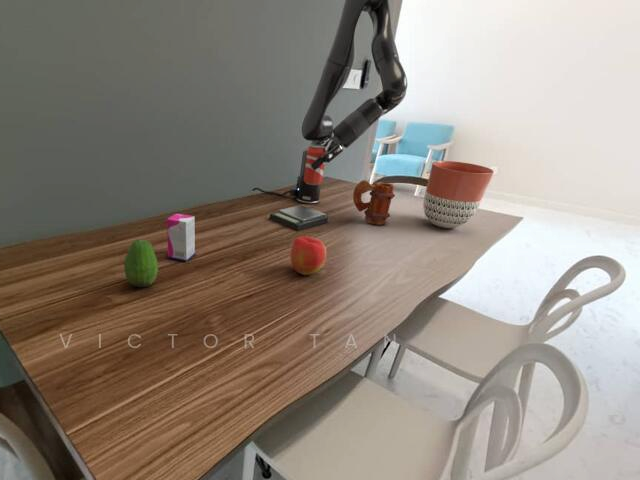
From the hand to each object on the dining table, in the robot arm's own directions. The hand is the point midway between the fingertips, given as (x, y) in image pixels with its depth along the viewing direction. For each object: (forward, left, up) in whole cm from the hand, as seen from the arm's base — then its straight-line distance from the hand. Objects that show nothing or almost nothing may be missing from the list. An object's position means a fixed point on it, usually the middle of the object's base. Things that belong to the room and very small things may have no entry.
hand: (310, 165), depth 131 cm
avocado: (+10, -68, -20) cm, 72 cm away
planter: (+31, +45, -20) cm, 58 cm away
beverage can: (+1, +1, -6) cm, 6 cm away
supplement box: (+1, -51, -20) cm, 55 cm away
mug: (+13, +23, -20) cm, 33 cm away
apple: (+28, -29, -20) cm, 45 cm away
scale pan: (-2, +2, -18) cm, 18 cm away
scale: (-2, +1, -20) cm, 20 cm away
